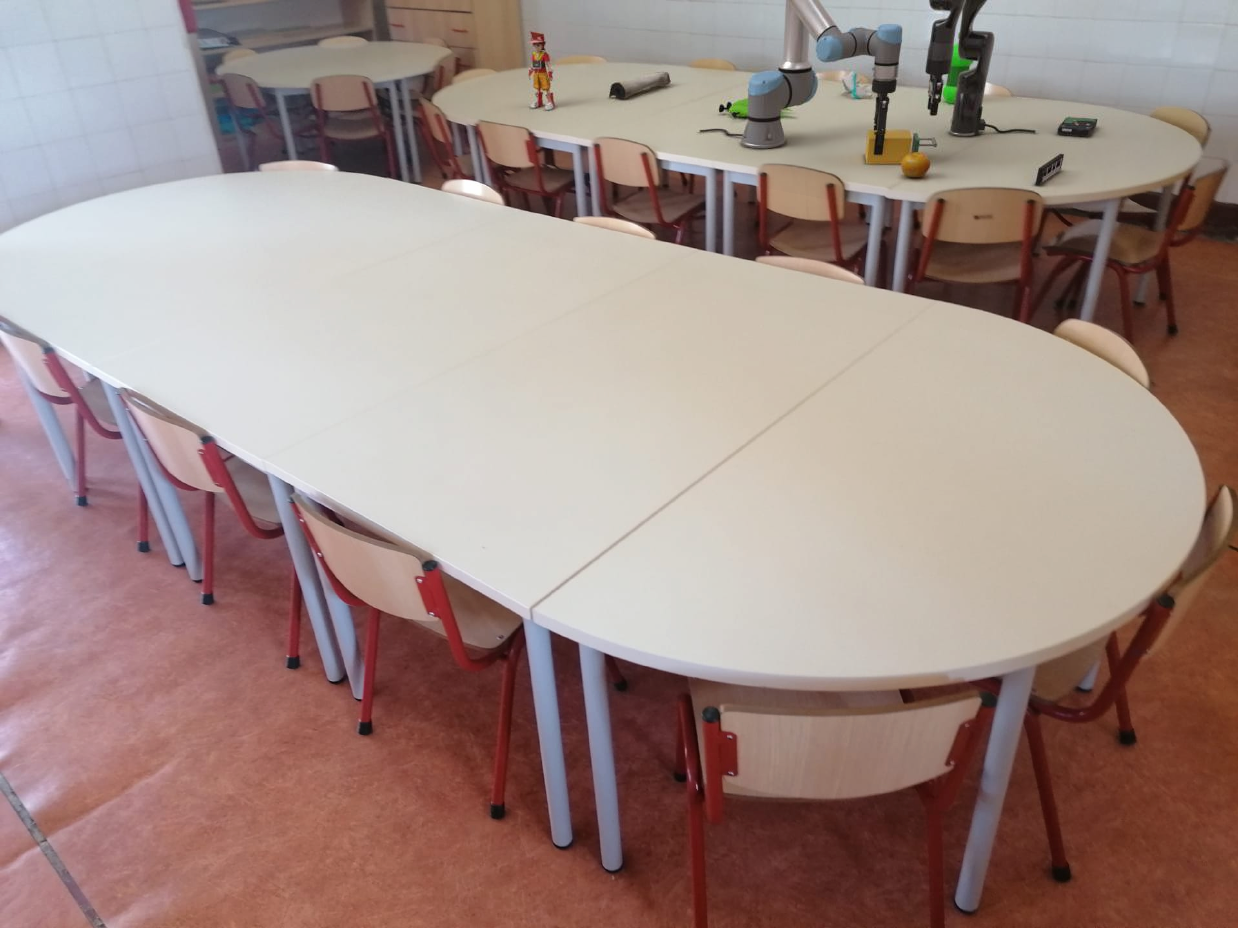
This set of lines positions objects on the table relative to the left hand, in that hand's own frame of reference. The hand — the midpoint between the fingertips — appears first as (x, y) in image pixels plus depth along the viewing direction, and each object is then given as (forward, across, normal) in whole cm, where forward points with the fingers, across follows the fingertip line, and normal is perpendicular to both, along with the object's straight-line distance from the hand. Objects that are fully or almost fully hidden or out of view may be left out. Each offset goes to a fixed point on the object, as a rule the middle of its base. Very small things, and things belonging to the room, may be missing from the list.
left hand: (877, 150), depth 297 cm
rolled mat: (+3, -102, -95) cm, 139 cm away
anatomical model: (+3, -90, -3) cm, 90 cm away
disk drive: (+3, -33, +70) cm, 78 cm away
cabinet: (+3, 0, +3) cm, 5 cm away
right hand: (-12, 0, +16) cm, 20 cm away
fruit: (+3, +18, +11) cm, 21 cm away
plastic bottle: (+3, -76, +34) cm, 84 cm away
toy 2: (+3, -60, -41) cm, 73 cm away
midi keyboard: (+3, +20, +50) cm, 54 cm away
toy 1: (+3, -76, -134) cm, 154 cm away
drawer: (+2, 0, +9) cm, 10 cm away
